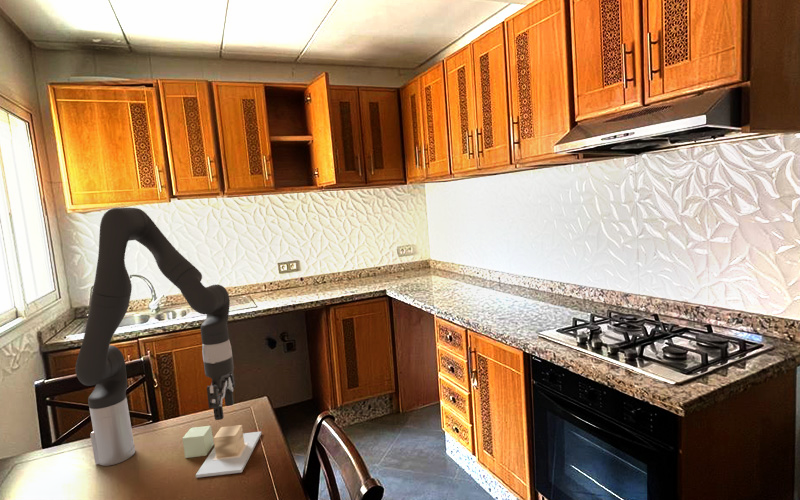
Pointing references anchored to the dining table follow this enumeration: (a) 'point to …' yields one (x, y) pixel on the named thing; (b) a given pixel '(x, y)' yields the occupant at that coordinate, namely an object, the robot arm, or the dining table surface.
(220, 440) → the maple block
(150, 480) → the dining table surface
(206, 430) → the sage block
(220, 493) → the dining table surface
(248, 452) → the white rectangular board
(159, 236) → the robot arm
